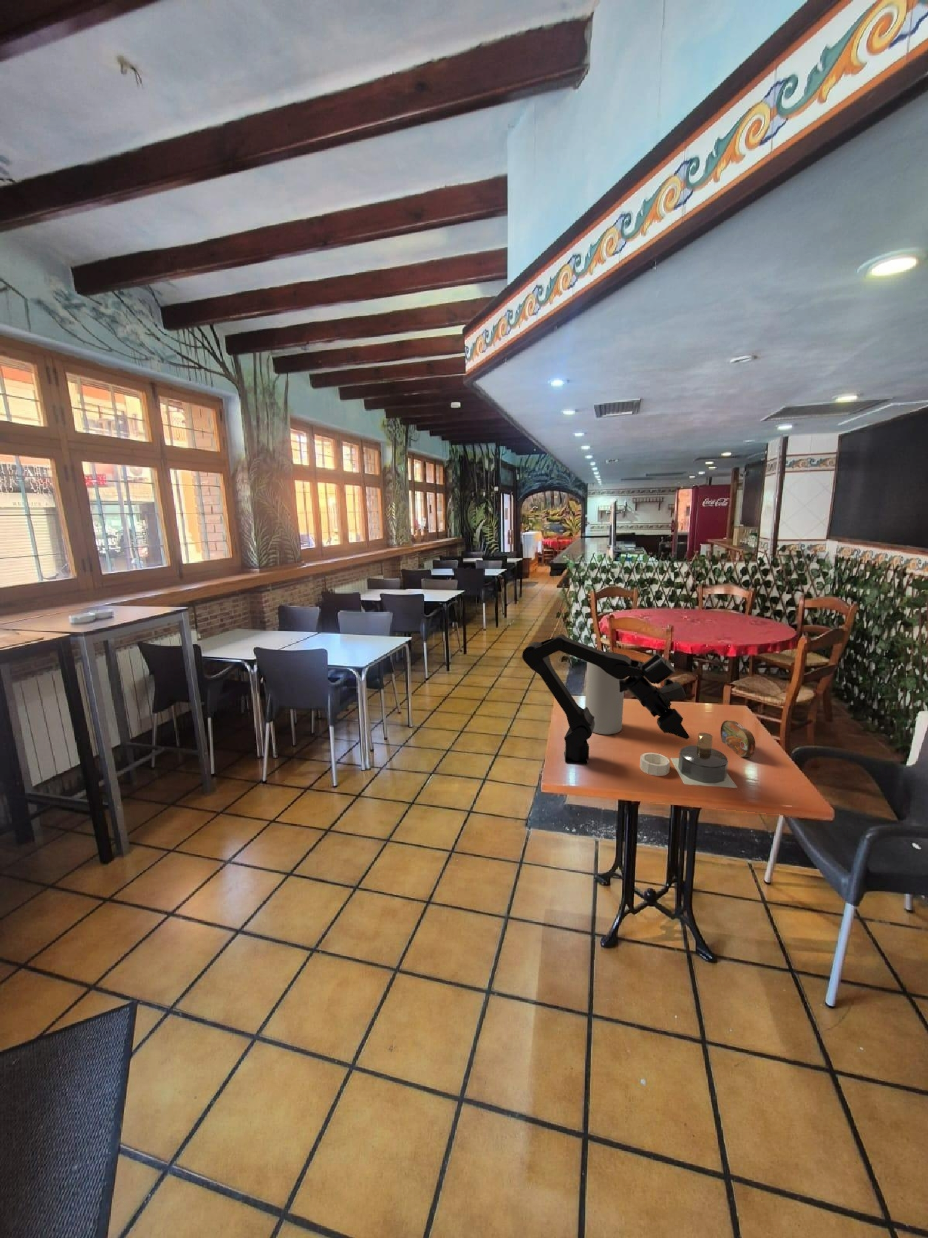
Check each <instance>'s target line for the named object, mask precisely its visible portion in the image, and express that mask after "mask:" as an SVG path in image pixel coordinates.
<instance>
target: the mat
mask: <svg viewBox="0 0 928 1238" xmlns="http://www.w3.org/2000/svg"><path fill="white" fill-rule="evenodd" d="M669 759H670V762H671V763H672V764H673V767H674V768H675V770H676V771H677V773H678V775H679V777H680V780H681V781H682V782H683V784H684V785H691V786H706V787H717V788H718V787H719V788H733V789H735V788H736V789H738V786H737V785H736V783H735V782H734V781H733V779H732V777H731V776H730V775H729V774H728V773H727V775H726V778H725V780H724V781H722V782H719V783H702V782H699V781H696V780H692V779H690V778H688V777H686V776H685V775H683V774H682V773H681V772H680V770H679V768H678V765H679V757H670V758H669Z"/></svg>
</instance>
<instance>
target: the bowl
mask: <svg viewBox="0 0 928 1238" xmlns="http://www.w3.org/2000/svg"><path fill="white" fill-rule="evenodd" d="M639 758H640V759H639V768H640V769H641V772H644V773H645V774H647V775H651V776H653V777H654V776H656V777H661V776H667V775H668V774H669V773H670V766H671V764H670V763H671V760H669V759H670V758H669V757H667V756H665V755H663V754H660V753H656V752H644V753H642V754H641V755H640V757H639Z"/></svg>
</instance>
